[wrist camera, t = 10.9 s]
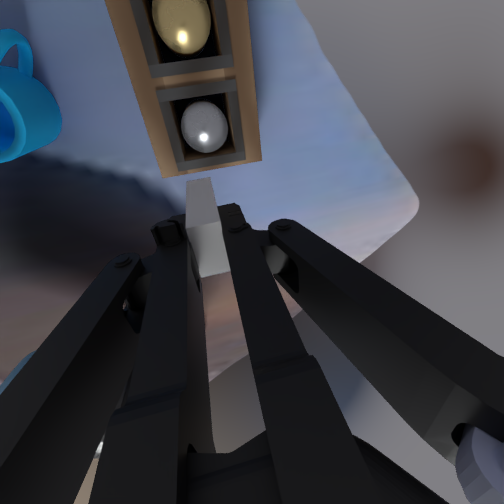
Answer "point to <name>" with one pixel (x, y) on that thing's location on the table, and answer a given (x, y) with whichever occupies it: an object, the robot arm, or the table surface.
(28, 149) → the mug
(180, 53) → the brass peg
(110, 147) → the table surface
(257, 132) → the socket block
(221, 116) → the steel peg
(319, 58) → the table surface
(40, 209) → the table surface
